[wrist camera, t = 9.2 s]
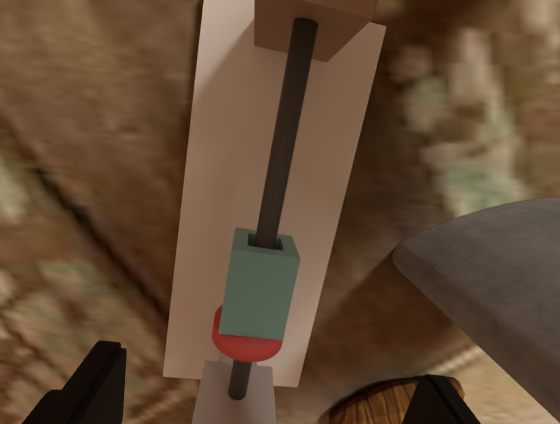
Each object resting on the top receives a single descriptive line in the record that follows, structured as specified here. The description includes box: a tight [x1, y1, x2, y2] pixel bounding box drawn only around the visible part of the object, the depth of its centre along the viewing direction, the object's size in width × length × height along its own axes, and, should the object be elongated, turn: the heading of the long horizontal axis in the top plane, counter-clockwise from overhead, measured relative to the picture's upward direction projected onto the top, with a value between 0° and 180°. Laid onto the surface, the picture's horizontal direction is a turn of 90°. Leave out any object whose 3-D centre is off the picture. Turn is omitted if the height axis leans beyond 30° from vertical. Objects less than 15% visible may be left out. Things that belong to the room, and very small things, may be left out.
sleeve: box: [218, 227, 300, 340], centre depth 17 cm, size 5×4×4 cm
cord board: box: [163, 0, 387, 424], centre depth 19 cm, size 30×12×10 cm, turn 169°
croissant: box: [329, 376, 465, 424], centre depth 27 cm, size 14×7×5 cm, turn 105°
